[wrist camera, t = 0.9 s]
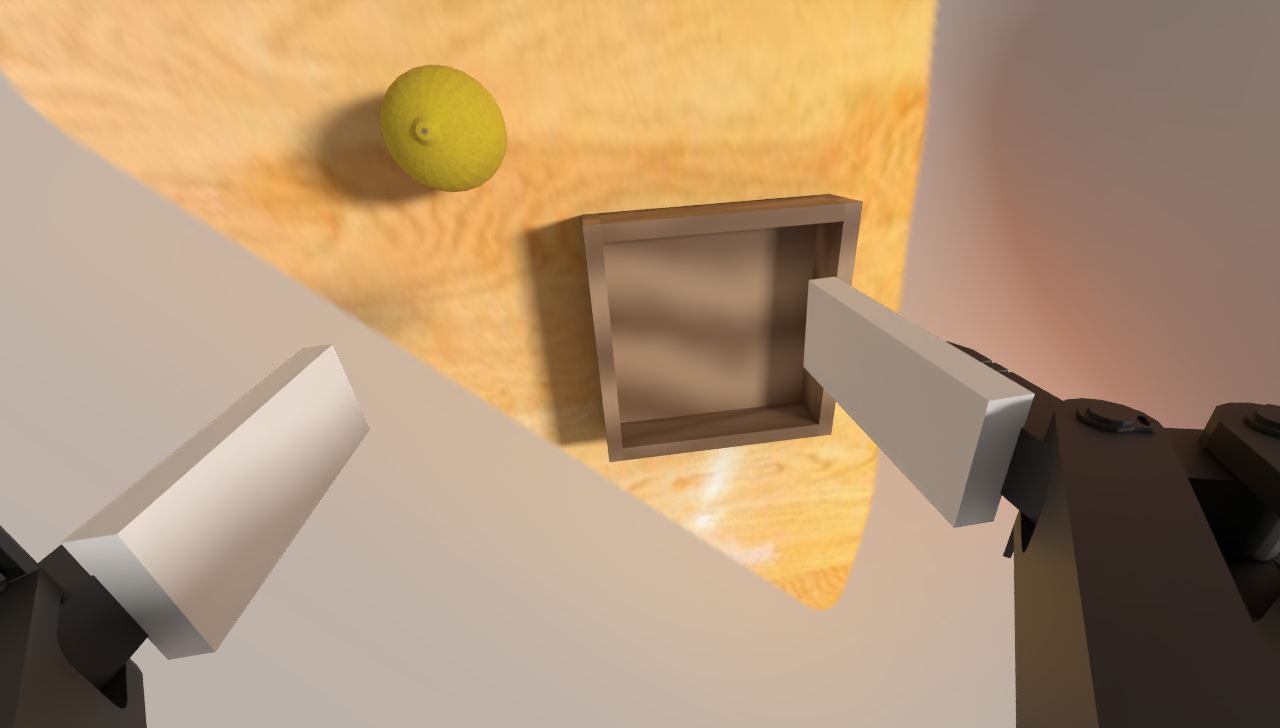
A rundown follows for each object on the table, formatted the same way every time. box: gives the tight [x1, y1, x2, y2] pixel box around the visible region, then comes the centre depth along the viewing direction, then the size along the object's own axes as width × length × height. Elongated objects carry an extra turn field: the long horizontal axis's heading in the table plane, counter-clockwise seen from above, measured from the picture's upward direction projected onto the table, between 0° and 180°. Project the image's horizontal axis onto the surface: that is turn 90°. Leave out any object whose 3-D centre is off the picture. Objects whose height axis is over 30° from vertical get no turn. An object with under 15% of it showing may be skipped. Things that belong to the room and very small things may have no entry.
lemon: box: [380, 65, 507, 192], centre depth 23 cm, size 6×6×8 cm
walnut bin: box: [582, 194, 863, 462], centre depth 32 cm, size 16×16×4 cm
